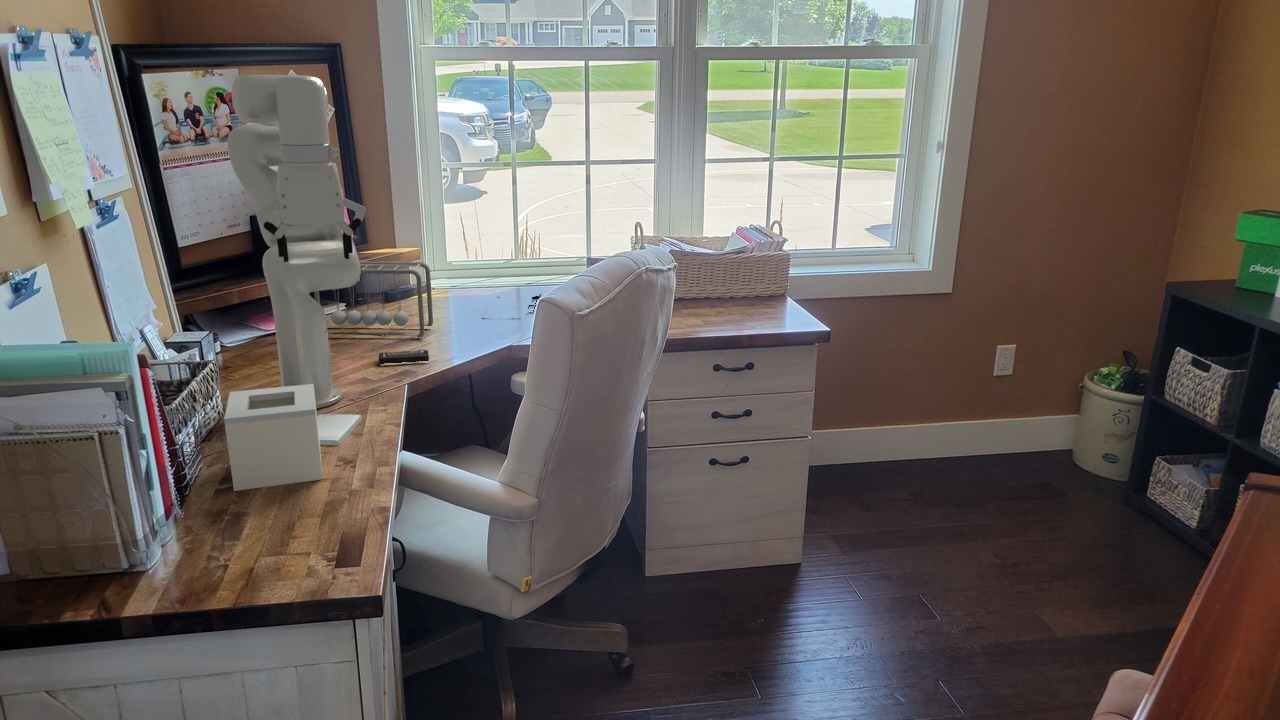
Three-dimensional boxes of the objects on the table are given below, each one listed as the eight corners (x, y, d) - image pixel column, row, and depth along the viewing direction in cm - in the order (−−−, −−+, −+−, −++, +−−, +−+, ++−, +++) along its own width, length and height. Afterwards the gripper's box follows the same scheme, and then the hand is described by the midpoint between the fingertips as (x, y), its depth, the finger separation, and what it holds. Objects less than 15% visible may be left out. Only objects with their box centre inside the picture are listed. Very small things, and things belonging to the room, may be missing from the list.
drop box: (238, 459, 149) (229, 391, 145) (320, 449, 153) (313, 383, 150) (234, 491, 137) (224, 418, 134) (322, 479, 142) (315, 409, 138)
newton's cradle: (434, 329, 230) (429, 261, 224) (424, 340, 220) (420, 269, 214) (318, 327, 230) (311, 260, 224) (304, 338, 220) (296, 268, 214)
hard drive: (318, 413, 167) (291, 438, 155) (361, 414, 167) (338, 439, 155) (319, 422, 167) (292, 447, 155) (362, 422, 167) (339, 448, 155)
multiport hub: (429, 364, 201) (428, 355, 201) (379, 368, 199) (378, 358, 198) (428, 359, 205) (428, 349, 205) (379, 362, 203) (378, 352, 202)
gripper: (360, 153, 150) (368, 252, 155) (250, 154, 144) (262, 258, 149) (363, 156, 143) (371, 260, 149) (247, 158, 138) (260, 266, 143)
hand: (316, 259), depth 149 cm, fingers open, 9 cm apart
